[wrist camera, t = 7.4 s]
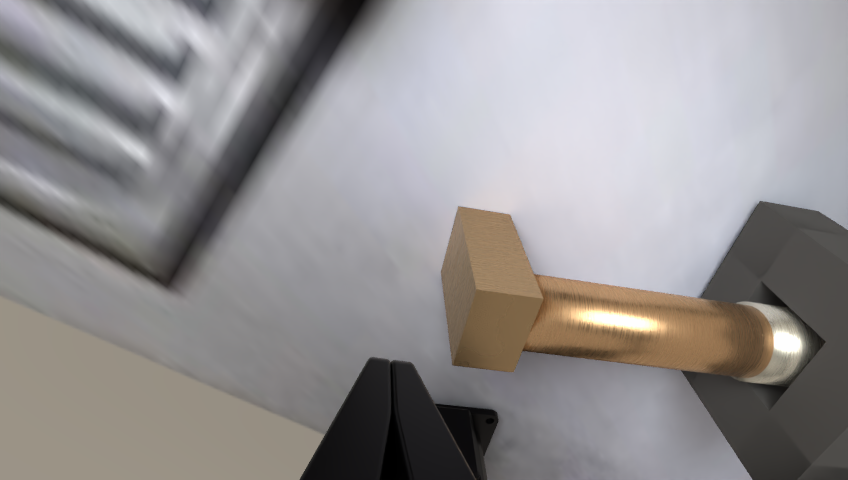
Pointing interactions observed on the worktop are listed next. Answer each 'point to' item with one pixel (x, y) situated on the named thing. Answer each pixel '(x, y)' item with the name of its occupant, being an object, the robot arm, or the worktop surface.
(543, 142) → the worktop surface
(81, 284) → the worktop surface
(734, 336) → the square head rod
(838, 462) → the dark grey square ring
